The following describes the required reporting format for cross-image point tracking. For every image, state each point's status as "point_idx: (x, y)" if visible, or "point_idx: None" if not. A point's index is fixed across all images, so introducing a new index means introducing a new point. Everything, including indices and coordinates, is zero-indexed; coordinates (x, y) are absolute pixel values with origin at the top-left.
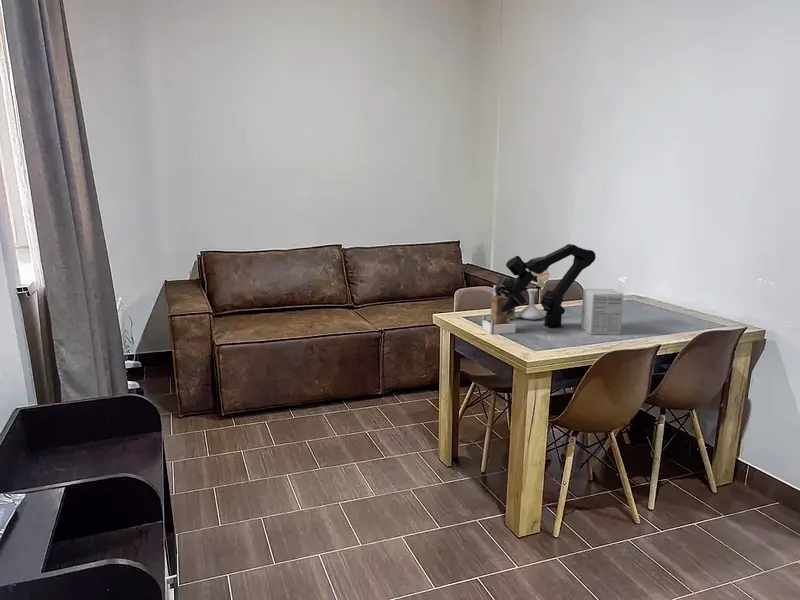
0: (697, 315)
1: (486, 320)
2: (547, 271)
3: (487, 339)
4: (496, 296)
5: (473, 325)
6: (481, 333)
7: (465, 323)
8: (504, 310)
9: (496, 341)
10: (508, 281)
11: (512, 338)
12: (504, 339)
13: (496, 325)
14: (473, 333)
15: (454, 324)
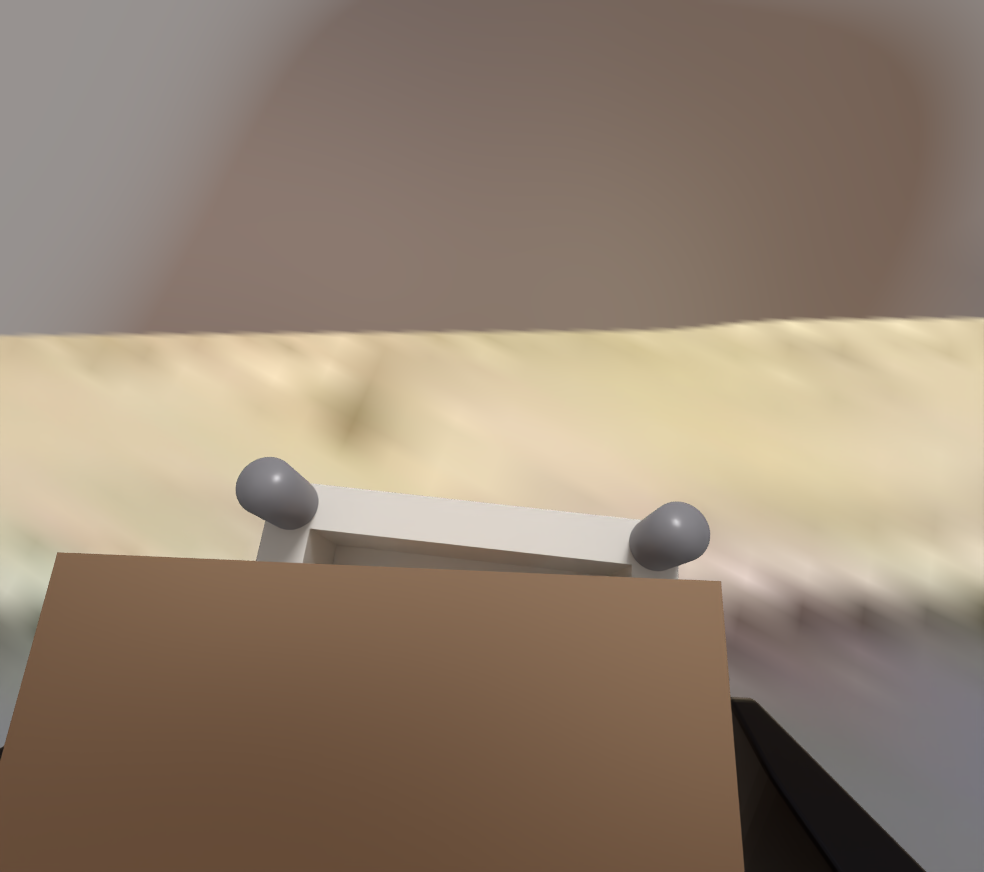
0: None
1: None
2: None
3: (140, 358)
4: (532, 817)
5: (814, 514)
6: (402, 419)
7: (937, 466)
8: None
9: (16, 408)
10: None
11: (11, 672)
12: (32, 542)
13: (256, 559)
14: (436, 337)
15: (897, 324)
